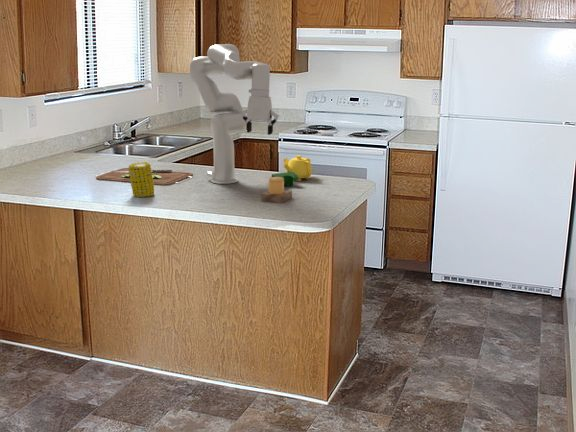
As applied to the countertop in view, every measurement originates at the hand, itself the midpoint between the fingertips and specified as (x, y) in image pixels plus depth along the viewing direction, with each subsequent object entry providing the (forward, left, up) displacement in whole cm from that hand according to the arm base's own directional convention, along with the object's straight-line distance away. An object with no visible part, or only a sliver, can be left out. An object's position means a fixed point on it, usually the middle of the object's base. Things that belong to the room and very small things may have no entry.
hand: (259, 133), depth 324 cm
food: (-44, -25, -26) cm, 57 cm away
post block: (+12, -10, -26) cm, 30 cm away
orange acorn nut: (+12, -10, -23) cm, 28 cm away
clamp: (+6, +15, -26) cm, 31 cm away
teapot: (+5, +32, -26) cm, 42 cm away
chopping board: (-64, +9, -27) cm, 70 cm away
